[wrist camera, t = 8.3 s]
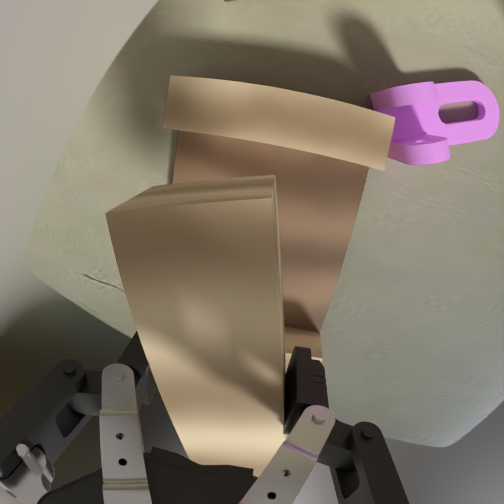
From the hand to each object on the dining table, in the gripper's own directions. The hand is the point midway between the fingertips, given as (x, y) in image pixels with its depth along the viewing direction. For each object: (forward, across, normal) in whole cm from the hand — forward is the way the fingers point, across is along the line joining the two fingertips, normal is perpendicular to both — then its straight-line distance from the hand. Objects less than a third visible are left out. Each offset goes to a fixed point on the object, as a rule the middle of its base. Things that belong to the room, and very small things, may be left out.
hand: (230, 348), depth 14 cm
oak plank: (+1, 0, 0) cm, 1 cm away
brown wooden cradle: (+16, 0, 0) cm, 16 cm away
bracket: (+16, -14, -15) cm, 26 cm away
